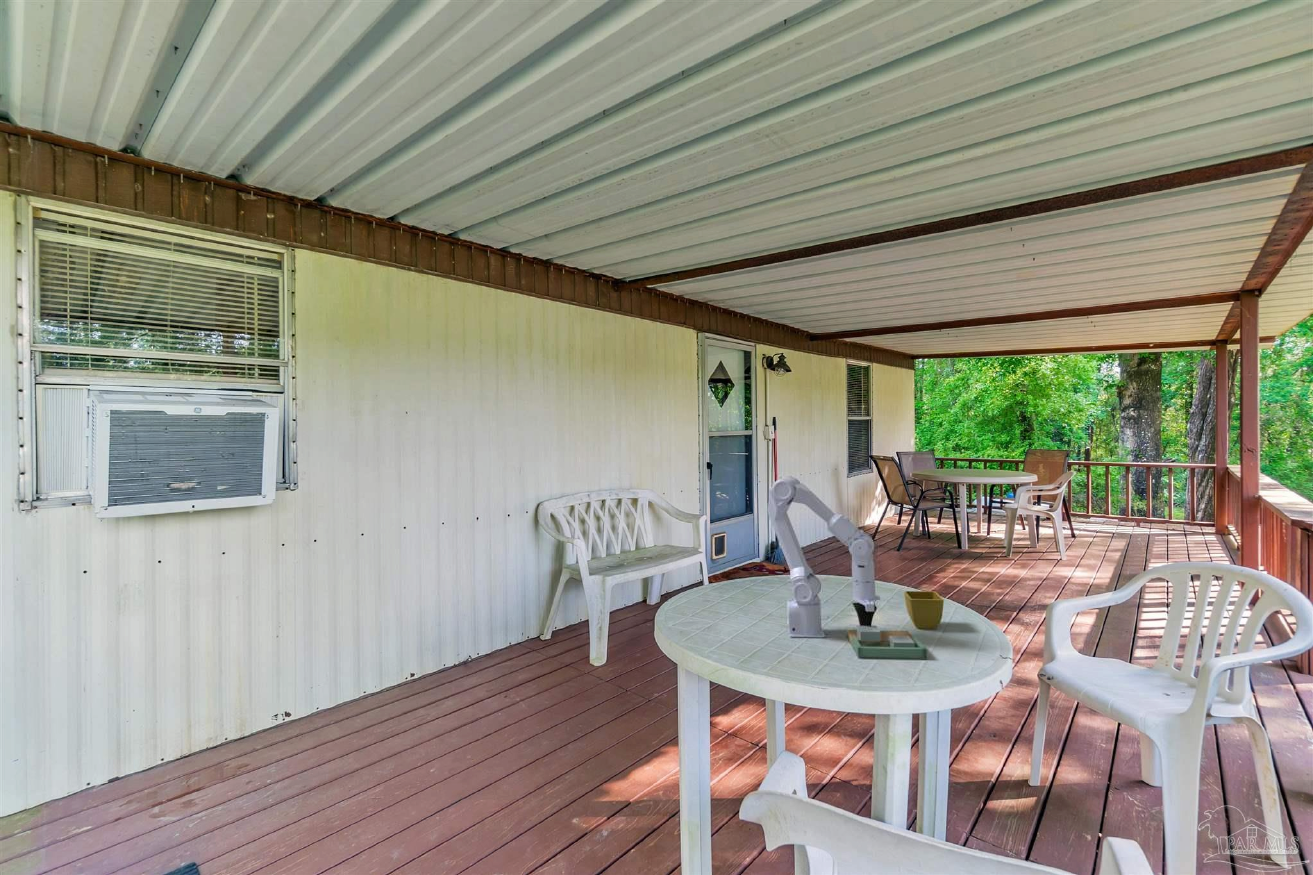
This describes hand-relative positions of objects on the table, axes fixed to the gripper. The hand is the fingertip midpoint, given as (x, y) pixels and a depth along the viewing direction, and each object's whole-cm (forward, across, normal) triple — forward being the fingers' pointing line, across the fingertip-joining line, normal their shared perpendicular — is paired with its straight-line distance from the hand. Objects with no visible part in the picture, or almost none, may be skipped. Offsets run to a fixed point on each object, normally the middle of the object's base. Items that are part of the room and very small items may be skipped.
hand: (865, 630), depth 155 cm
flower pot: (+3, +12, -18) cm, 22 cm away
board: (+2, -1, -4) cm, 4 cm away
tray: (+2, -9, -3) cm, 10 cm away
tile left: (+1, -4, 0) cm, 4 cm away
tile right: (+2, -8, -7) cm, 11 cm away
